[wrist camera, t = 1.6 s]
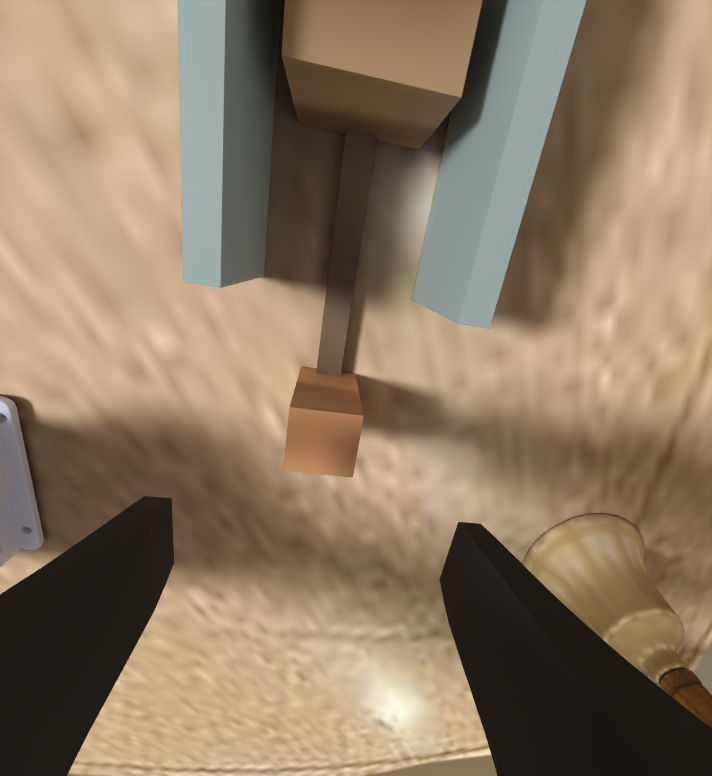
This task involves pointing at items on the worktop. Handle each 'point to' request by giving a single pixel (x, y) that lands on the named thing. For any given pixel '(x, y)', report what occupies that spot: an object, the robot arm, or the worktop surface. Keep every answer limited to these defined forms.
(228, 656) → the worktop surface
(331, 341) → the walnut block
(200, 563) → the worktop surface
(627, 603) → the hand bell
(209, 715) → the worktop surface
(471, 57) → the lane shelf
